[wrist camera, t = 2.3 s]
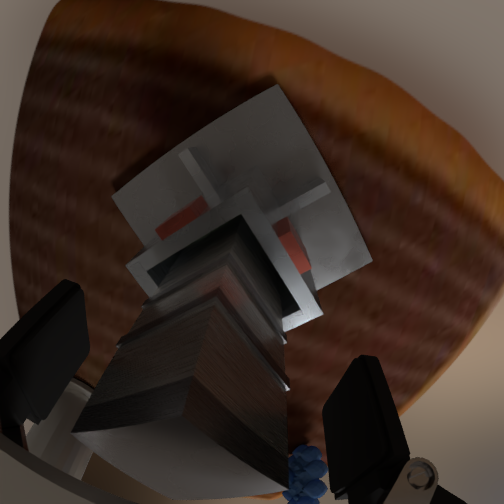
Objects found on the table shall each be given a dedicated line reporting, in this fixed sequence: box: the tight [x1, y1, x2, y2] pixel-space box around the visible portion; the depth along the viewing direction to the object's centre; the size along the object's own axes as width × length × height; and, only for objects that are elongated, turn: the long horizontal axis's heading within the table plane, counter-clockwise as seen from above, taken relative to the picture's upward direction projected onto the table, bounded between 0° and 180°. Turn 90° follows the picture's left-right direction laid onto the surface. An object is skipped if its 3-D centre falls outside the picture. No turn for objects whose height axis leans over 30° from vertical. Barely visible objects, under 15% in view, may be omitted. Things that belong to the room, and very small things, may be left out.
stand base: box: [112, 84, 372, 332], centre depth 19 cm, size 16×16×11 cm
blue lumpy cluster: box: [282, 445, 328, 504], centre depth 30 cm, size 12×7×12 cm, turn 164°
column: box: [70, 214, 290, 500], centre depth 14 cm, size 4×4×19 cm
